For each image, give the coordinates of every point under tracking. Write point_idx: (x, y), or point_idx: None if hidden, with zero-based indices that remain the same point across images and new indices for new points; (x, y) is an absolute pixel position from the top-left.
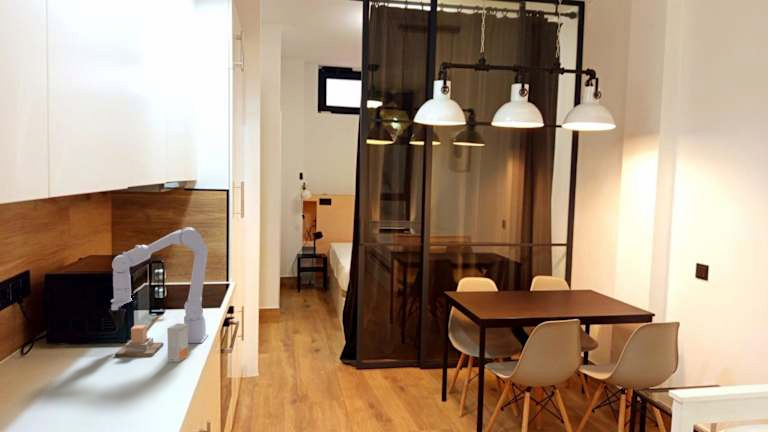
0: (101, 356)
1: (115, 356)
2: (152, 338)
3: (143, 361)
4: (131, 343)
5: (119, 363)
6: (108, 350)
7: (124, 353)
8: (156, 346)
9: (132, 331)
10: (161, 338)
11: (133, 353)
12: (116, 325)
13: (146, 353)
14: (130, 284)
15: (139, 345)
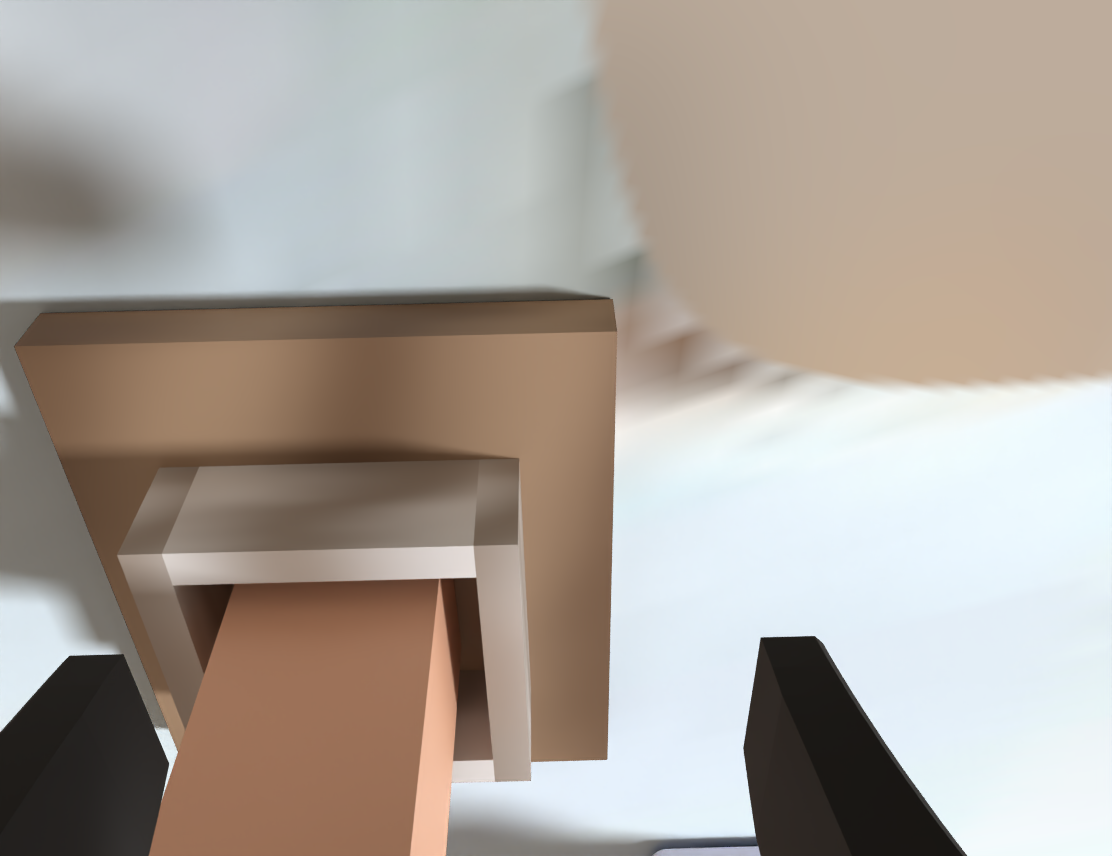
0: (6, 38)
1: (41, 327)
2: (504, 779)
3: (2, 702)
4: (227, 610)
5: None
6: (379, 15)
7: (78, 483)
8: None
9: (162, 845)
10: (945, 622)
11: (114, 592)
12: (35, 725)
13: (167, 715)
14: None
15: (188, 714)
